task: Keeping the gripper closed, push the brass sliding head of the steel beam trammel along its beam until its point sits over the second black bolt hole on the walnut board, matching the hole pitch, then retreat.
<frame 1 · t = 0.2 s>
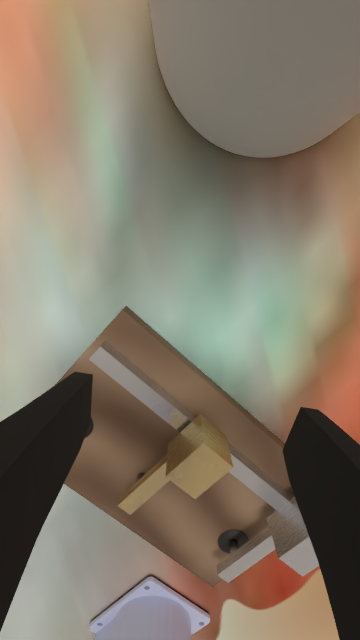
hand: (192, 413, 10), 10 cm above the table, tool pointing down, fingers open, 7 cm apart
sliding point: (166, 474, 19), point 4 cm above the table, slide at 0.0 cm
pitch board: (174, 457, 23), on the table
trammel: (209, 426, 22), resting on pitch board
cylinder vase: (267, 37, 15), on the table
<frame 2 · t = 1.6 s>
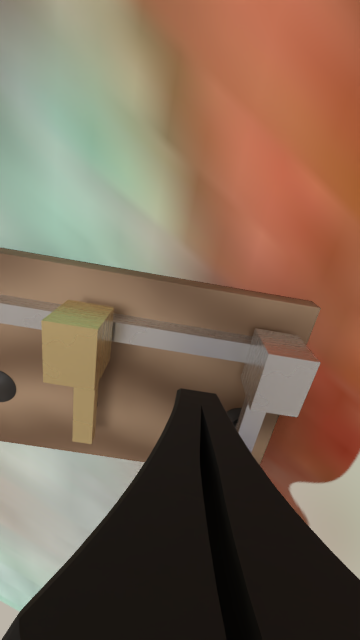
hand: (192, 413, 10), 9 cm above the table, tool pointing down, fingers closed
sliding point: (83, 384, 15), point 4 cm above the table, slide at 0.0 cm
pitch board: (122, 369, 19), on the table
trammel: (127, 316, 18), resting on pitch board
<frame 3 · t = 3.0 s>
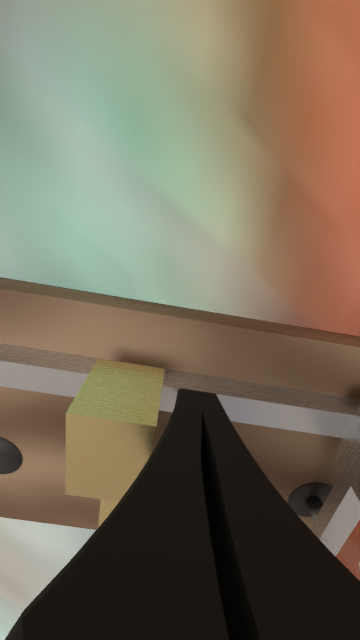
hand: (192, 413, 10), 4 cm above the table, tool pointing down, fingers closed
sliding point: (116, 472, 11), point 4 cm above the table, slide at 0.1 cm, touching gripper
pitch board: (160, 430, 15), on the table
trammel: (172, 366, 13), resting on pitch board
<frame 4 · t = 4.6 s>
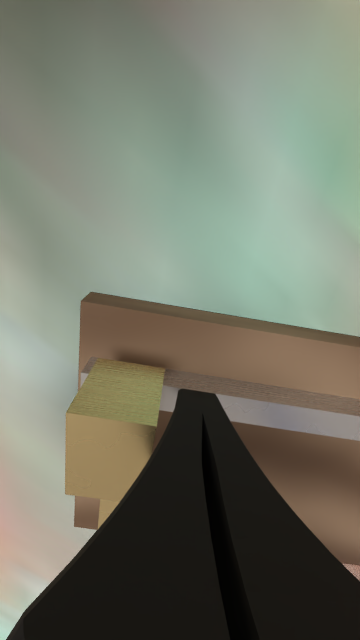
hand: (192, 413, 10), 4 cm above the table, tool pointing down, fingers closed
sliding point: (116, 472, 11), point 4 cm above the table, slide at 7.1 cm, touching gripper
pitch board: (289, 449, 15), on the table
trammel: (316, 389, 13), resting on pitch board
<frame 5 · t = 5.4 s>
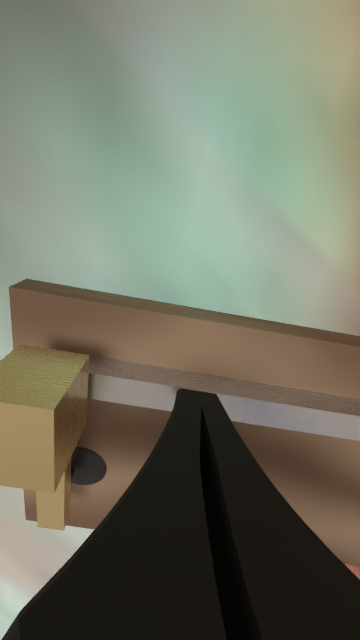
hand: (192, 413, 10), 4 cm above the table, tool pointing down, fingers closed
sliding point: (46, 462, 11), point 4 cm above the table, slide at 7.1 cm
pitch board: (240, 442, 15), on the table
trammel: (262, 380, 13), resting on pitch board
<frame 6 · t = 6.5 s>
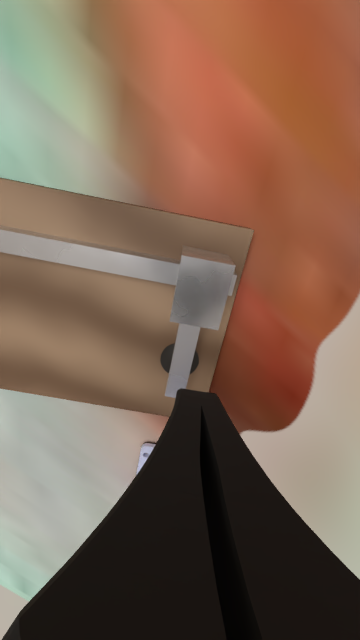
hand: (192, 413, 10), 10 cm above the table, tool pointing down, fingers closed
pitch board: (61, 303, 19), on the table
trammel: (62, 243, 17), resting on pitch board
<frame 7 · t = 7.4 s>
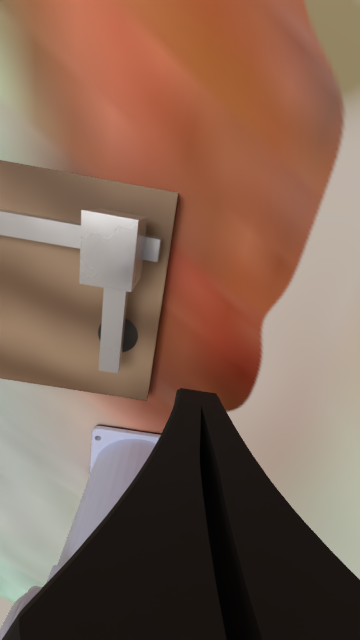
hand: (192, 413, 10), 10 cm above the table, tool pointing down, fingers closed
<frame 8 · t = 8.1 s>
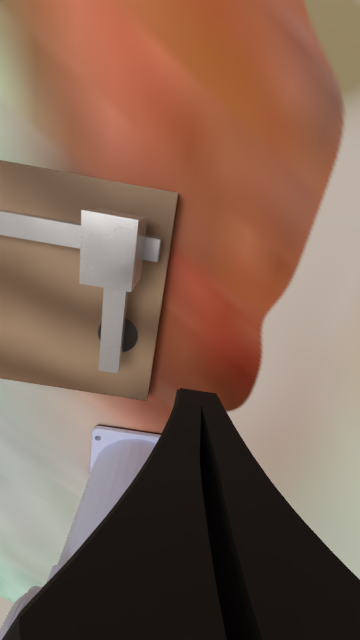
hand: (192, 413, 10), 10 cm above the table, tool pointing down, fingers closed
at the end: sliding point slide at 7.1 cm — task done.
